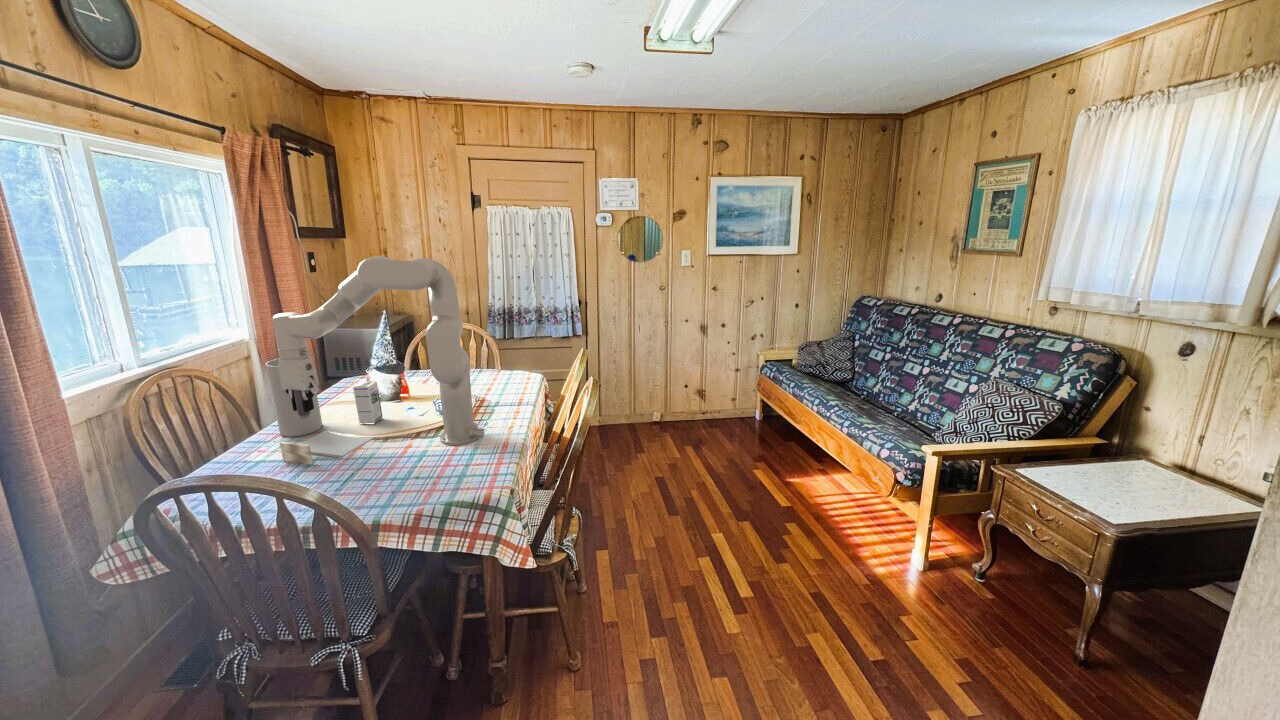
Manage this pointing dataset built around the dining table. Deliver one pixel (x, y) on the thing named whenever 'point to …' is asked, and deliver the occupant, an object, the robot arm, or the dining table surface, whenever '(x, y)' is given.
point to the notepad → (333, 444)
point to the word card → (296, 453)
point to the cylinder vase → (290, 407)
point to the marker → (300, 405)
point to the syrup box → (367, 402)
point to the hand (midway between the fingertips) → (303, 409)
